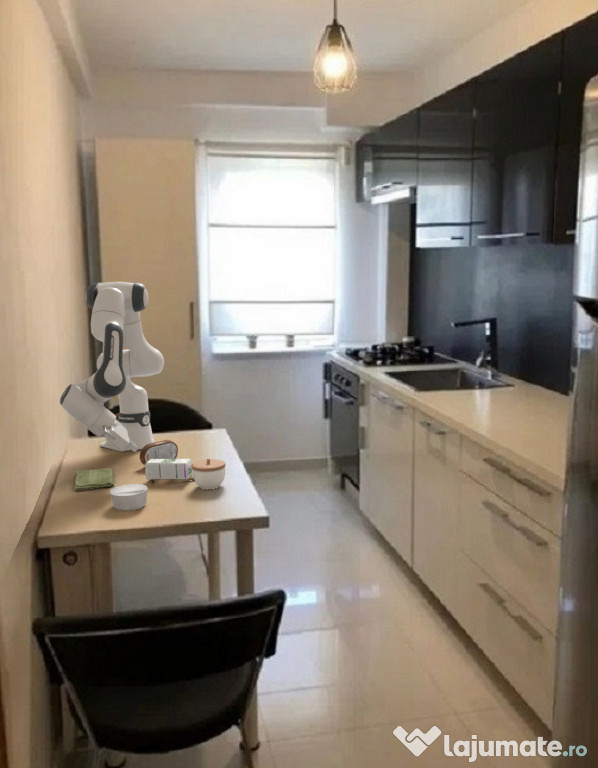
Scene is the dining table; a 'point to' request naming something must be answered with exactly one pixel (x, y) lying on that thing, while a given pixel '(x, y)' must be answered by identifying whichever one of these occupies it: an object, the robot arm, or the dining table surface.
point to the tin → (159, 451)
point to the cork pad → (171, 480)
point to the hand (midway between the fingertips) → (136, 449)
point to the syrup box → (168, 469)
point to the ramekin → (129, 497)
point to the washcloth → (93, 479)
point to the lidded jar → (209, 473)
